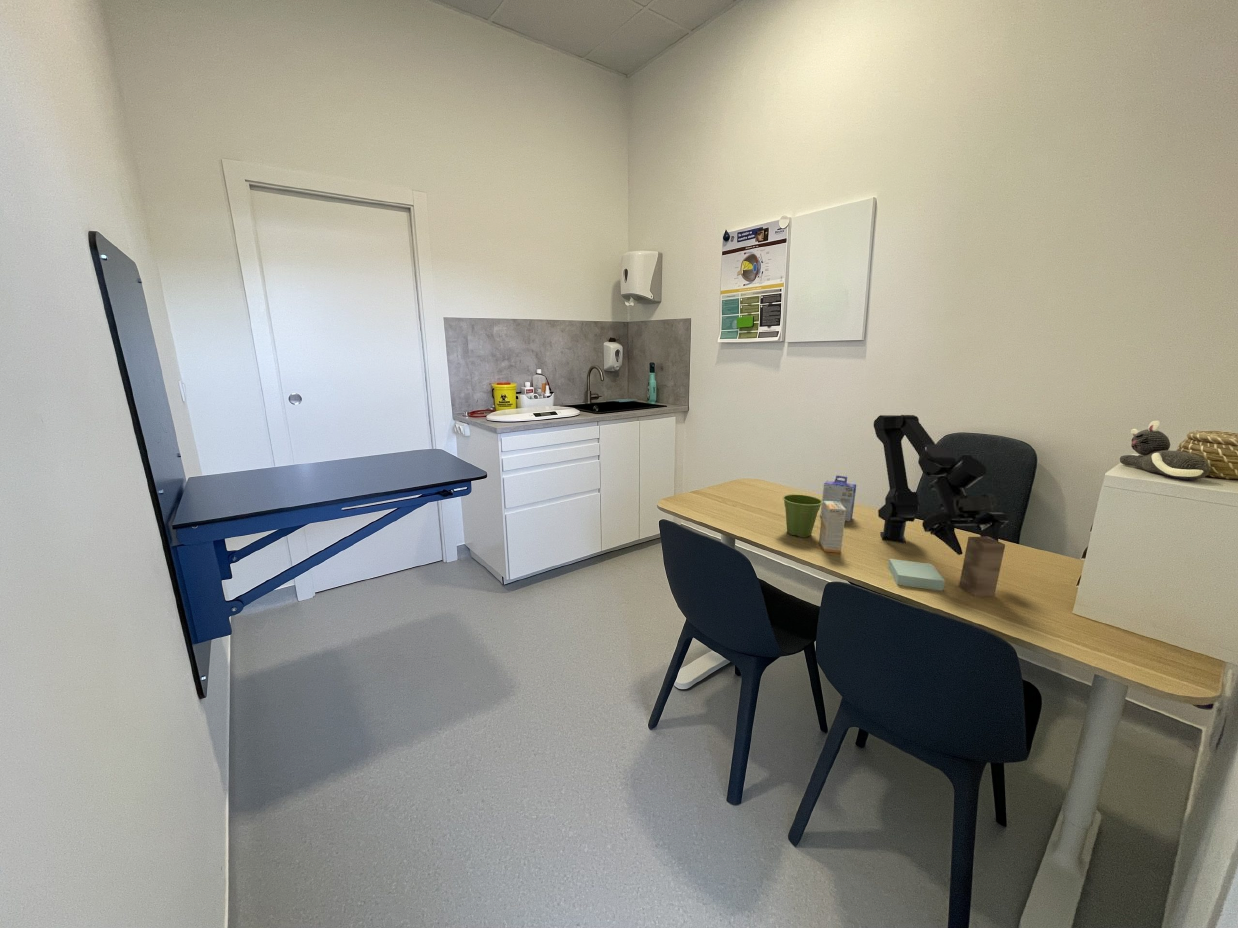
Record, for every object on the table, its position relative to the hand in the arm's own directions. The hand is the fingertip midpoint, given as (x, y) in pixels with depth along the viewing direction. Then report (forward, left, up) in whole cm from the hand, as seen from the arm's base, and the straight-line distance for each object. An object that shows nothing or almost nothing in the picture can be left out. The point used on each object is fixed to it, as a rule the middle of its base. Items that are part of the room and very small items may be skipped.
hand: (978, 554), depth 118 cm
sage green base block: (0, -12, -9) cm, 16 cm away
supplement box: (-13, -32, -9) cm, 36 cm away
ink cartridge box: (-43, -30, -9) cm, 53 cm away
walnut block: (+1, +1, -9) cm, 9 cm away
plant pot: (-21, -41, -9) cm, 47 cm away
